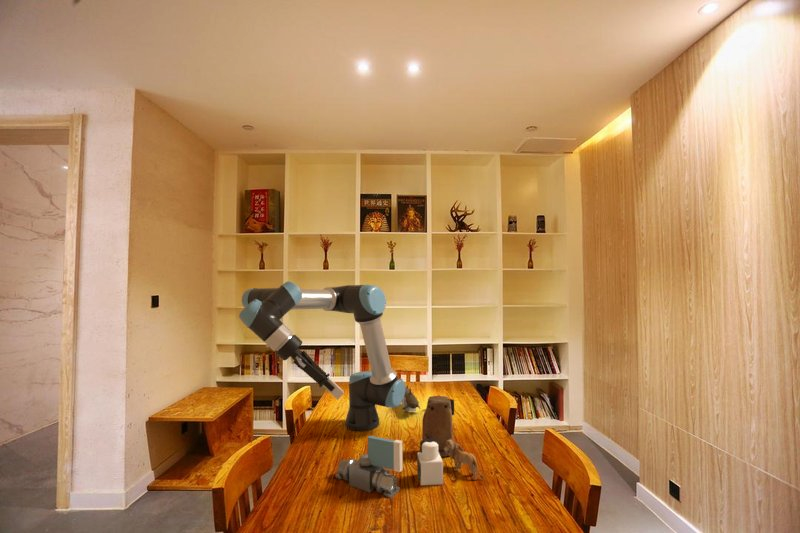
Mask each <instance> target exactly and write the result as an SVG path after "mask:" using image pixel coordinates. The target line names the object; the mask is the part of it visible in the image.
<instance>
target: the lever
mask: <svg viewBox="0 0 800 533" xmlns="http://www.w3.org/2000/svg"><path fill="white" fill-rule="evenodd" d="M359 464H360V465H361V466H370V465H375V466H379V467H383V469H386V470H390V471H394V472H398V473H400V472H402V471H403V468H404V467H403V440H400V439H395V440H394V439H389V438H384V437H379V436H375V435H369V436H367V453H365V454H362V455H359Z"/></svg>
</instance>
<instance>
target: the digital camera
mask: <svg viewBox="0 0 800 533" xmlns="http://www.w3.org/2000/svg"><path fill="white" fill-rule="evenodd" d="M439 396H440V397H441V395H439ZM449 399H450V402H451V411H452V416H454V415H455V400H454V399H451V398H449Z"/></svg>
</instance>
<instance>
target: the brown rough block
mask: <svg viewBox="0 0 800 533" xmlns="http://www.w3.org/2000/svg"><path fill="white" fill-rule="evenodd" d="M440 396H441V395H433V396H429V397H428V399H427V402H426V408H425V412H424V414H423V416H422V421H421V422H422V423H421V425H422V428H421V429H422V430H421V432H422V433H421V435H422V440H424V439H427V438H431V439H435V440H437V441H438V442H439V454H440V456H441V458H442V457H449V456H450V455H449V454H448V453H445V450H444V447H445V446H446V441H447V440H450V439H451V440H454V432H453V430H454V429H453V415H452V411H451V402H450V399H451V398H450V397H449V396H445V395H443V396H441V397H440Z"/></svg>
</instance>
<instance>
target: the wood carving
mask: <svg viewBox="0 0 800 533" xmlns="http://www.w3.org/2000/svg"><path fill="white" fill-rule="evenodd" d="M399 380H402V381H403V382H404V380H403V378H402V377H400V378H399ZM417 408H418V409H421V407H420V405H419V401H418V398H417V397H416V395H414V393H413V392H412V388H410V387H409V385H405V395H404V398H403V400H402V402H401V409H402V411H403V410H404V411H407V412H416V411H417ZM404 411H403V412H404Z"/></svg>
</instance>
